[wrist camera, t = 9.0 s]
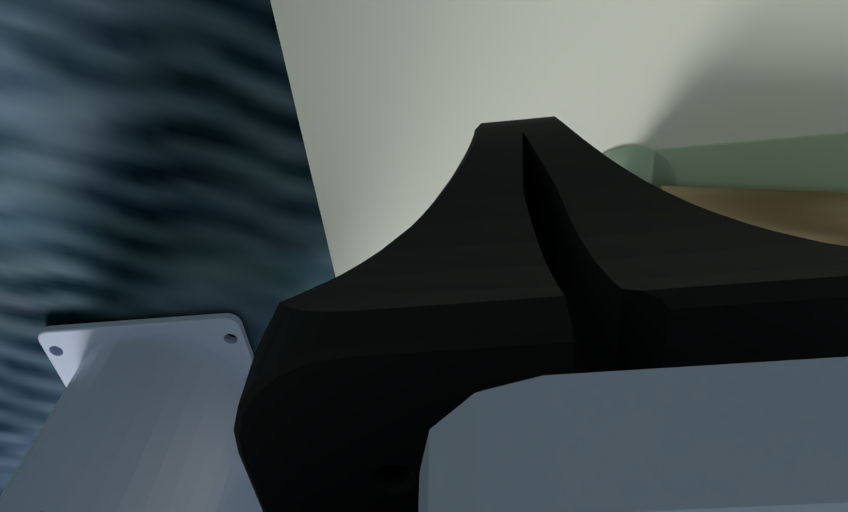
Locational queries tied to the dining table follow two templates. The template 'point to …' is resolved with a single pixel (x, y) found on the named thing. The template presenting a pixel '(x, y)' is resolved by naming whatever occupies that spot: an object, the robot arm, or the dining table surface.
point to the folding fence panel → (777, 210)
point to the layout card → (560, 94)
